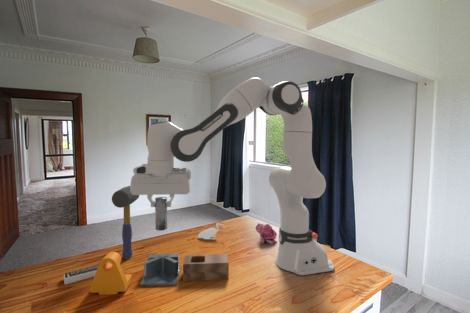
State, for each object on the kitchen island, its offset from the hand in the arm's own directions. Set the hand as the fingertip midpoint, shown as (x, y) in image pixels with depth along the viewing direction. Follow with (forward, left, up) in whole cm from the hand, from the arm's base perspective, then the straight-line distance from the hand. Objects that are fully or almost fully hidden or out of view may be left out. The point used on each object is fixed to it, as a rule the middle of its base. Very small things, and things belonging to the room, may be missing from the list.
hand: (161, 206), depth 91 cm
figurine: (-18, -34, -26) cm, 47 cm away
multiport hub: (+27, -4, -26) cm, 38 cm away
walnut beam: (-16, 0, -26) cm, 30 cm away
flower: (-45, -33, -26) cm, 62 cm away
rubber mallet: (+17, -16, -26) cm, 35 cm away
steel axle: (0, 0, -8) cm, 8 cm away
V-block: (0, 0, -26) cm, 26 cm away
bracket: (+15, +6, -26) cm, 31 cm away
